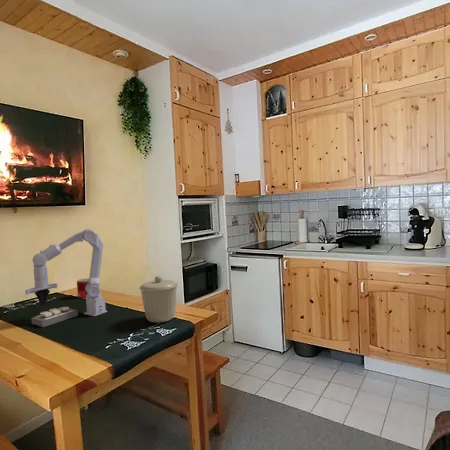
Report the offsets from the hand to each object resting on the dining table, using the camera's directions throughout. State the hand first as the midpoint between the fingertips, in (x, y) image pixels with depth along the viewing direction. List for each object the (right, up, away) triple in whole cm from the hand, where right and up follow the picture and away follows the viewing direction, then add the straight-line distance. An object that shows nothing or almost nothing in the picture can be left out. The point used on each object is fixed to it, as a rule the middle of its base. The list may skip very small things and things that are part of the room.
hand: (43, 305), depth 164 cm
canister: (+59, -6, -4) cm, 59 cm away
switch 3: (+7, -4, +7) cm, 10 cm away
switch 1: (+2, -4, -1) cm, 5 cm away
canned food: (+1, -6, +46) cm, 46 cm away
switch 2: (+4, -4, +3) cm, 7 cm away
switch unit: (+5, -8, +3) cm, 10 cm away
